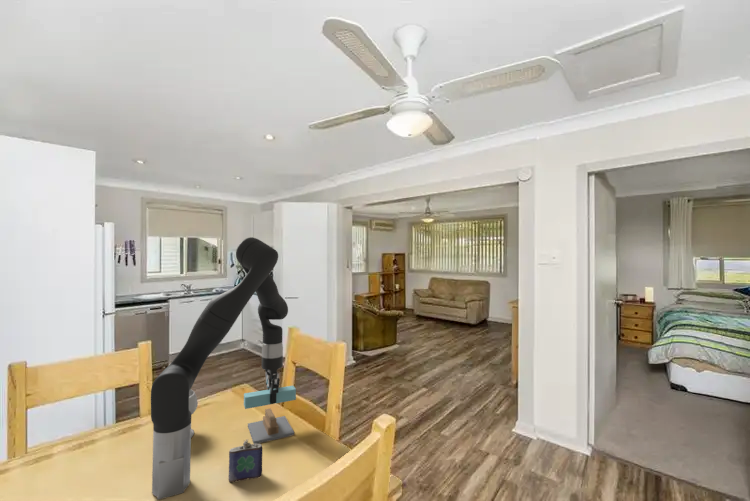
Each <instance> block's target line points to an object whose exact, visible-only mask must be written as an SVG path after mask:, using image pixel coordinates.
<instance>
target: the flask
mask: <svg viewBox="0 0 750 501" xmlns="http://www.w3.org/2000/svg"><path fill="white" fill-rule="evenodd" d="M263 449H264V448H263V445H262V443H258V444H257V443H255V444H252V443H251V442H249V440H248V439H245V440H244V439H243V444H242V445H239V446H236V447H232V448H230V449H229V451H228V455H229V456H228V459H229V460H228V482H229V483H236V482H244V481H247V480H251V479H260V478H261V477H262V475H263Z"/></svg>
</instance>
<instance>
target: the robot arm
mask: <svg viewBox="0 0 750 501" xmlns="http://www.w3.org/2000/svg"><path fill="white" fill-rule="evenodd" d="M235 258H236V260H237V262H238V263H239V265H240V266H241V268H242V269H243V270H244V272H245V273H246V275H245V276H244V277H243V279H242V280H241V281H240V282H239V283H237V285H236V286H234V287H232V288H230V289H229V290H226V291H225V292H224V291H223V292H222V293H221V294H219V295H217V296H215V297H214V298H212V299H211V300H210V301H209V302H208V303H207V305H206V306H205V307H204V309H203V310H202V311H201V313H200V315H199V317H198V318H197V319H196V321H195V323H194V325H193V327H192V329H191V332H190V334H189V336H188V338H187V341H186V342H185V344H184V346H183V348H182V349H181V350H180V351H179V352H178V354H177V355H176V356H175V358H174V359H173V360H172V361H171V362H170V363H169V365H168V366H167V367H166V368H164V370H163V371H162V372H160V374H159V375H158V376H157V377H156V378H155V379H154V381H153V382H152V385H151V388H150V389H151V390H150V420H151V421H152V426H153V429H152V432H153V435H152V472H151V473H152V474H151V476H152V477H151V478H152V480H151V481H152V482H151V485H152V486H151V494H152V495H153V496H155V497H156V499H157V500H162V499H165V498H169V497H173V496H176V495H179V494H183V493H184V492H185V490H186V489H187V488H189V485H190V482H191V452H192V448H191V443H192V439H191V438H192V437H191V429H192V415H191V412H190V410H189V391H190V389H191V390H192V387H193V386H194V384H195V381H196V379H197V377H198V375H199V373H200V371H201V370H202V368H203V366H204V364H205V362H206V360H207V359H208V357H209V356H210V355H211V353H213V351H214V350H215V349H216V348H217V347H218V346H219V345H220V343H221V342H222V341H223V340H224V338H225V337H226V335H227V334H228V333H229V332H230V331H231V329H232V327H233V326H234V325H235V323H236V321H237V320H238V317H240V314H241V313H242V312H243V310H244V308H245V307H246V305H247V304H248V302H249V301H250V300H251V298H252V297H253V295H255V293H256V296H257V298H258V301H259V304H258V306H257V314H258V317H259V321H260V324H261V328H262V330H261V331H262V346H261V368H262V369H263V370H264V372H265V385H266V390H269V389H270V405H274V403H276V393H278V390H279V388H280V378H279V376H280V374H279V372H278V370H279V369H281V368H282V367H283V366H284V365H283V364H284V363H283V362H284V345H283V327H282V326H280V325H277V324H273V323H272V322H271V320H273V321H274V320H276V321H277V320H283V319H285V318H286V317H287V315H288V313H289V307H288V303H287V301H286V300H285V299H284V297H282V296H281V294H280V293H279V289H278V287H277V284H276V282H275V280H274V279H273V277H272V276H271V273H272V271H273V269H274V268H275V266H276V265H277V263H278V260H279V253H278V251H277V250H276V249H275V248H274V247H272V246H270V245H269V244H267V243H265V242H264V241H262V240H260V239H258V238H256V237H247V238H245V239H242V241H241V242H239V244H238V245H237V248H236V250H235ZM273 389H275V390H273ZM276 404H277V403H276Z"/></svg>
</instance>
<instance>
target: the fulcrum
mask: <svg viewBox="0 0 750 501" xmlns="http://www.w3.org/2000/svg"><path fill="white" fill-rule="evenodd" d="M264 411H265V412H264V416H263V417H262V420H259V421H253V422H249V423H247V429H248V431H249V434H250V437H251V440H252V443H253V444H255V443H257V444H262V443H266V442H270V441H274V440H278V439H284V438H288V437H293V436H295V430H294V429H293V427H292V426H291V424H290V423H289V420H288V419H287V417H286V416H285V415H284V416H277V417H276V416H275V413H274V412H273V410H272V408H271V407H270V408H265V410H264Z"/></svg>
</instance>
